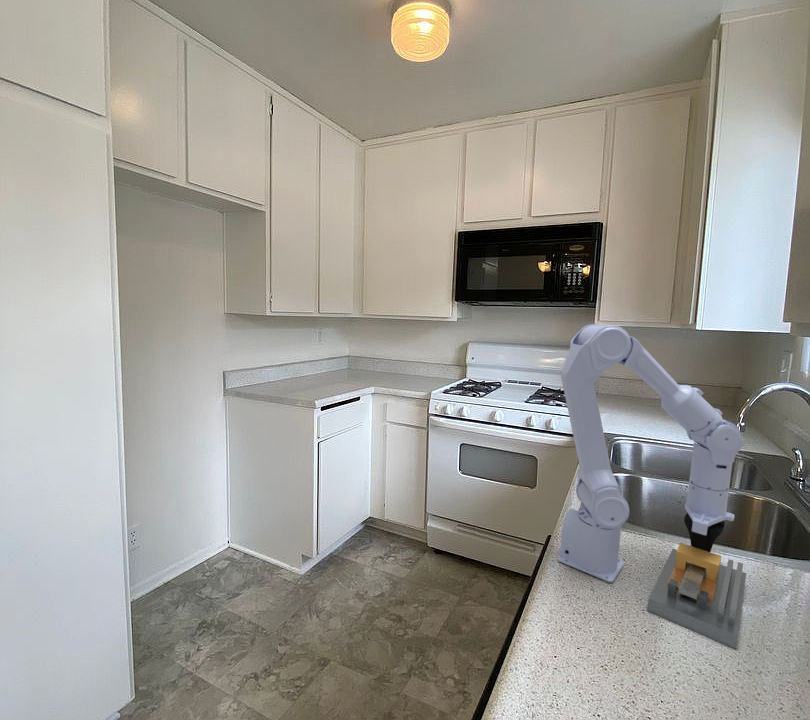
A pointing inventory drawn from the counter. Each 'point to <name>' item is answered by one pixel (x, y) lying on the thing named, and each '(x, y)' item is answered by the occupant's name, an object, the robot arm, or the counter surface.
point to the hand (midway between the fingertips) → (700, 557)
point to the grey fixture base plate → (702, 601)
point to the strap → (692, 580)
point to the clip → (698, 560)
